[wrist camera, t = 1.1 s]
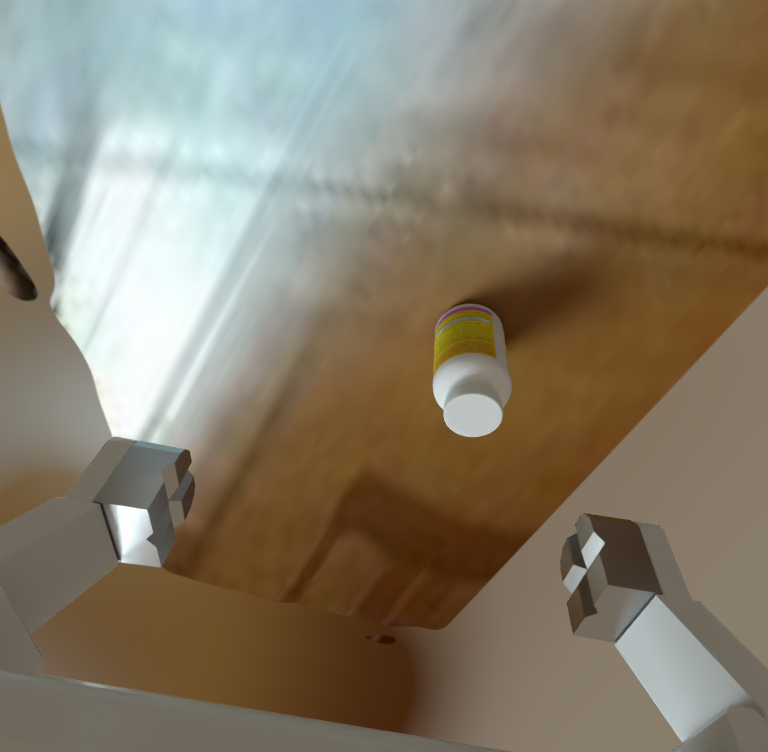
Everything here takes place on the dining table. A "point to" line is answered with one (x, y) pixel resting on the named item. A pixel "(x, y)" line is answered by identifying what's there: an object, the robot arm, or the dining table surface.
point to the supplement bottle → (471, 369)
